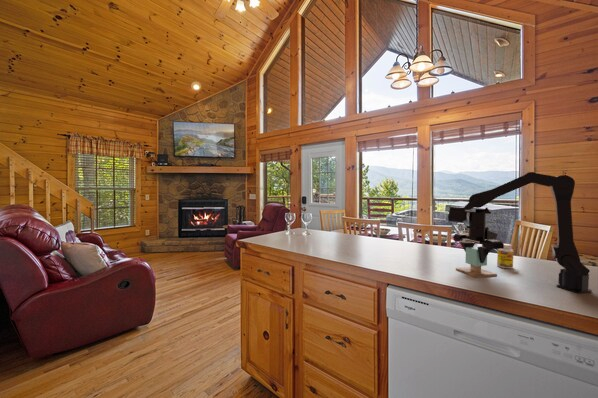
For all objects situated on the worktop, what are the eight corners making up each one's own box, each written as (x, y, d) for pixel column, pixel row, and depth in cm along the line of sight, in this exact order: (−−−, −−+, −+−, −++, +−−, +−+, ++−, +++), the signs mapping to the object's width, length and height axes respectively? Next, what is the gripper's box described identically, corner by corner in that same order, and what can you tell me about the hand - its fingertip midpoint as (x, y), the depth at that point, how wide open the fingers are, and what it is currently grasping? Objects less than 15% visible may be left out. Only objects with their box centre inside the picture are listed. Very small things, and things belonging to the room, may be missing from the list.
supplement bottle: (498, 267, 116) (499, 244, 116) (496, 264, 121) (496, 242, 121) (514, 269, 113) (515, 246, 113) (511, 266, 118) (512, 243, 118)
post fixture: (496, 275, 105) (497, 261, 105) (476, 277, 103) (476, 263, 103) (475, 268, 115) (475, 255, 115) (455, 269, 113) (456, 256, 113)
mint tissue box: (486, 265, 107) (487, 249, 107) (476, 266, 106) (476, 250, 105) (475, 261, 112) (476, 246, 112) (465, 262, 111) (465, 247, 111)
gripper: (515, 226, 101) (514, 266, 101) (473, 220, 119) (472, 254, 120) (492, 227, 98) (490, 268, 99) (453, 221, 117) (452, 256, 117)
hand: (476, 261), depth 109 cm, fingers closed on mint tissue box, 5 cm apart
